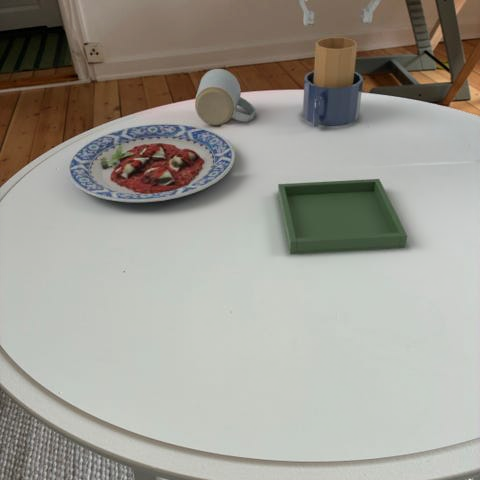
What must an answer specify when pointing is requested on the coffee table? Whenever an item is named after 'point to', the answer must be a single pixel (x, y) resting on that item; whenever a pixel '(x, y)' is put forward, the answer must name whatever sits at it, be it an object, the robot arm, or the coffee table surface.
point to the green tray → (339, 217)
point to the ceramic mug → (221, 98)
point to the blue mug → (331, 102)
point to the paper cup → (334, 62)
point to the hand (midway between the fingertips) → (337, 23)
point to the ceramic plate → (151, 163)
